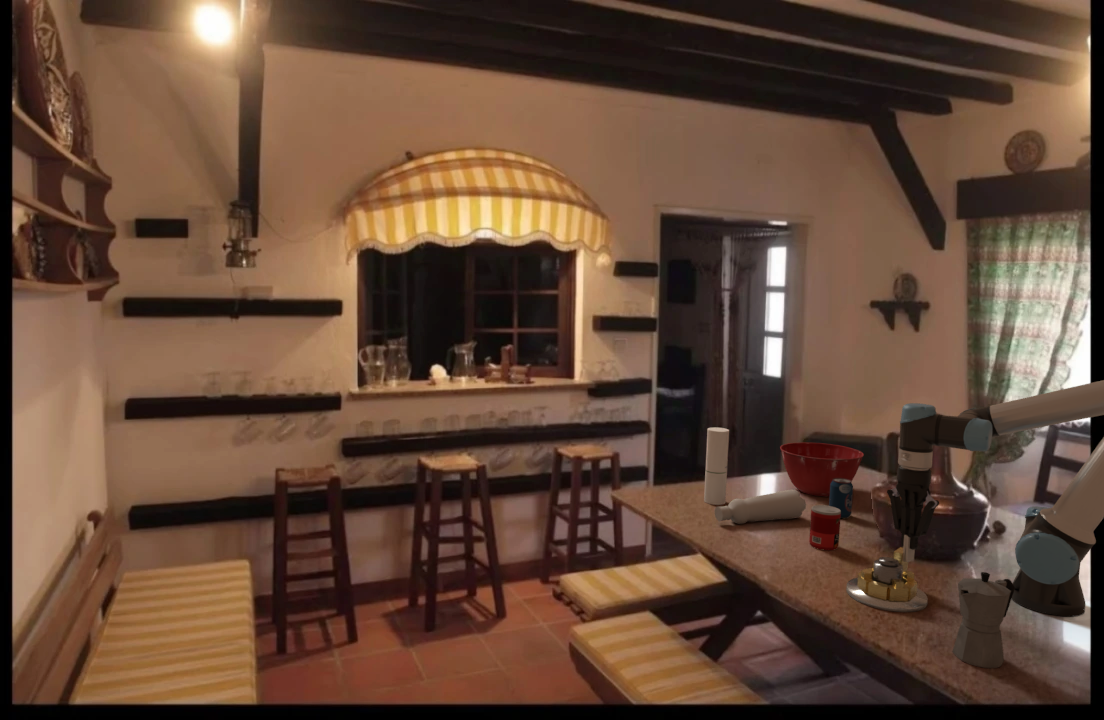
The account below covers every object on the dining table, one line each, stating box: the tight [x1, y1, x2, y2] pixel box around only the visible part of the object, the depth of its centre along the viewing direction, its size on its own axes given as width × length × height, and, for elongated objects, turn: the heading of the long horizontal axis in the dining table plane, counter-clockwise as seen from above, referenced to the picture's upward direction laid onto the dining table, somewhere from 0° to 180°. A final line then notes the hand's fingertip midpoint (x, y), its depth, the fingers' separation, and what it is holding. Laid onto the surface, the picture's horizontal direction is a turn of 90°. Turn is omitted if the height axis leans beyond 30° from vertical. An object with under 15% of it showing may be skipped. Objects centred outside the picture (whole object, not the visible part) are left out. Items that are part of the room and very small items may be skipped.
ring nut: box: [857, 546, 918, 601], centre depth 187 cm, size 12×17×8 cm
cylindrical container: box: [703, 427, 730, 506], centre depth 260 cm, size 7×7×25 cm
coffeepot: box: [951, 571, 1015, 669], centre depth 155 cm, size 15×9×18 cm, turn 114°
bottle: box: [714, 488, 807, 525], centre depth 241 cm, size 9×9×30 cm
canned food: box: [808, 504, 841, 551], centre depth 219 cm, size 8×8×11 cm
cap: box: [846, 556, 928, 613], centre depth 185 cm, size 18×18×9 cm
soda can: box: [828, 478, 854, 519], centre depth 248 cm, size 7×7×12 cm
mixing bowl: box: [779, 441, 865, 497], centre depth 276 cm, size 28×28×15 cm
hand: (908, 560), depth 189 cm, fingers closed
